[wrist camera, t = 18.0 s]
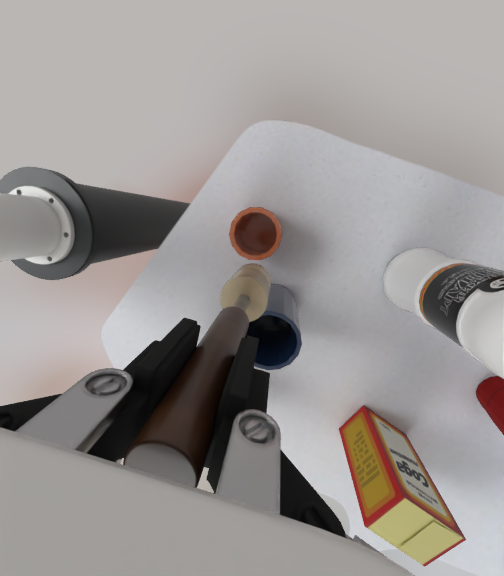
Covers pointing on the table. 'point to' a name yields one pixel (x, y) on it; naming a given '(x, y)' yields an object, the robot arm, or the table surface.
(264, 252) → the holder
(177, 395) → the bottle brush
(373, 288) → the table surface
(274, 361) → the tumbler
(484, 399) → the plastic cup
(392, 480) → the baking soda box
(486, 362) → the vodka
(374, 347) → the table surface
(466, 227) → the table surface
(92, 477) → the robot arm
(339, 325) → the table surface
